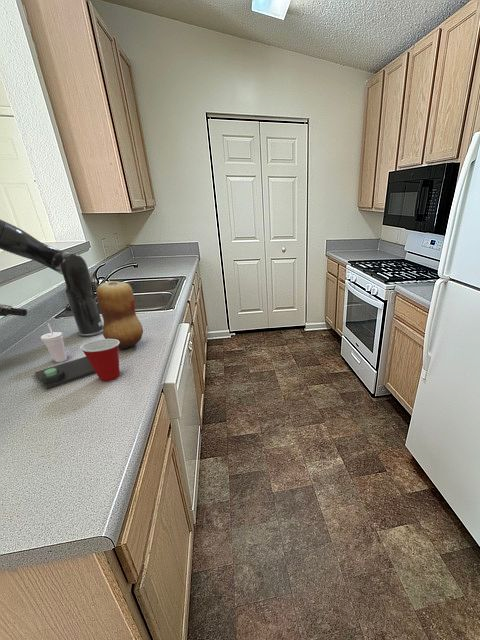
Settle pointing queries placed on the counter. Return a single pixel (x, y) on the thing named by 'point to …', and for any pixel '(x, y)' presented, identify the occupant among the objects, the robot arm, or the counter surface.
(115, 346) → the plastic cup
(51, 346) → the smoothie
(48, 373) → the button
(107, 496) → the counter surface
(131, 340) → the butternut squash
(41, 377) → the scale
